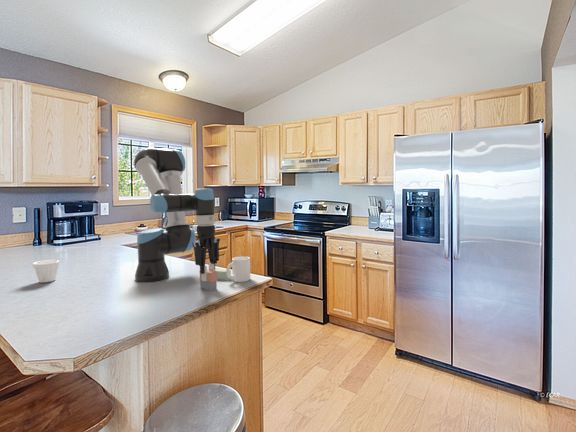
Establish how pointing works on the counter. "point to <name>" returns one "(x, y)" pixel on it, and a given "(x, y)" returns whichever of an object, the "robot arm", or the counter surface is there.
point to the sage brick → (222, 274)
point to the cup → (46, 270)
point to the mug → (239, 269)
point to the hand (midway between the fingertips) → (208, 279)
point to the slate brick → (208, 285)
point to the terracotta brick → (210, 275)
